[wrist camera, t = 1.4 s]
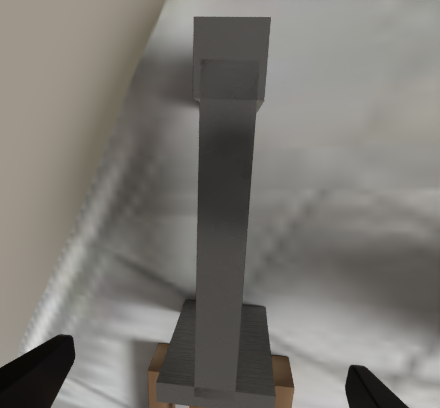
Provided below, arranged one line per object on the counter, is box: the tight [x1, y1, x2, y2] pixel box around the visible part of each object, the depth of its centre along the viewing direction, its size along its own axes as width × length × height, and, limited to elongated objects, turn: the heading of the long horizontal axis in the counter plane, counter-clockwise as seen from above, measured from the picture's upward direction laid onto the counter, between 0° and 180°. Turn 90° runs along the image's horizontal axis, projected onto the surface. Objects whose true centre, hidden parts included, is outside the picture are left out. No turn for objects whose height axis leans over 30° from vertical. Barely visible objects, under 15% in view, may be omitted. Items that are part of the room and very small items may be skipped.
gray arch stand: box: [156, 17, 276, 408], centre depth 17 cm, size 7×20×8 cm, turn 178°
